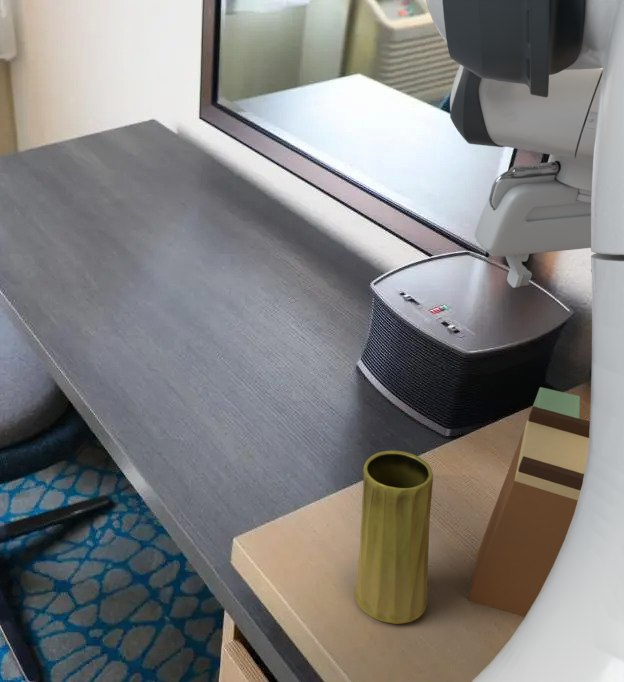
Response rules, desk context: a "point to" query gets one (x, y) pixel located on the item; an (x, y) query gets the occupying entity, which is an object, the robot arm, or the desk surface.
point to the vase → (394, 537)
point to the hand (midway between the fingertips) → (559, 280)
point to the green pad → (558, 402)
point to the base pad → (531, 512)
